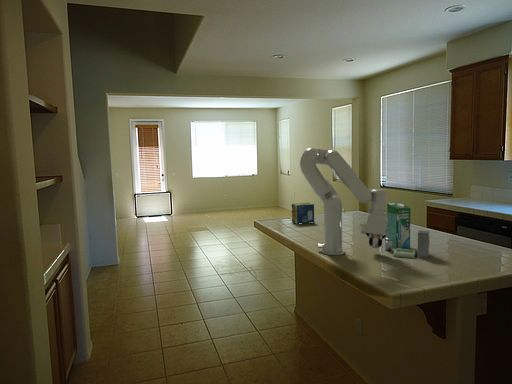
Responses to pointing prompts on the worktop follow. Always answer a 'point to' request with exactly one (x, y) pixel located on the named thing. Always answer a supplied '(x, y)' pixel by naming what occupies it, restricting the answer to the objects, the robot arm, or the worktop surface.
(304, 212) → the protein box
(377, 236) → the copper lidded jar
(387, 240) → the clear glass jar
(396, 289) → the worktop surface
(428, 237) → the block
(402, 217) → the milk carton
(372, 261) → the worktop surface
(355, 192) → the robot arm
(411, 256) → the tray
